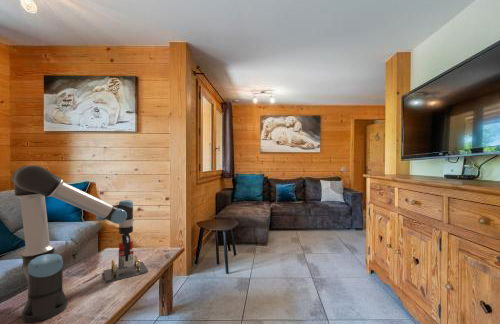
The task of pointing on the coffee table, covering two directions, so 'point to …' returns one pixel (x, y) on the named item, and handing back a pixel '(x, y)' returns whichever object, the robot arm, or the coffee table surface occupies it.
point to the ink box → (121, 257)
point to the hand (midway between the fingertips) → (125, 264)
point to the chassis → (124, 271)
